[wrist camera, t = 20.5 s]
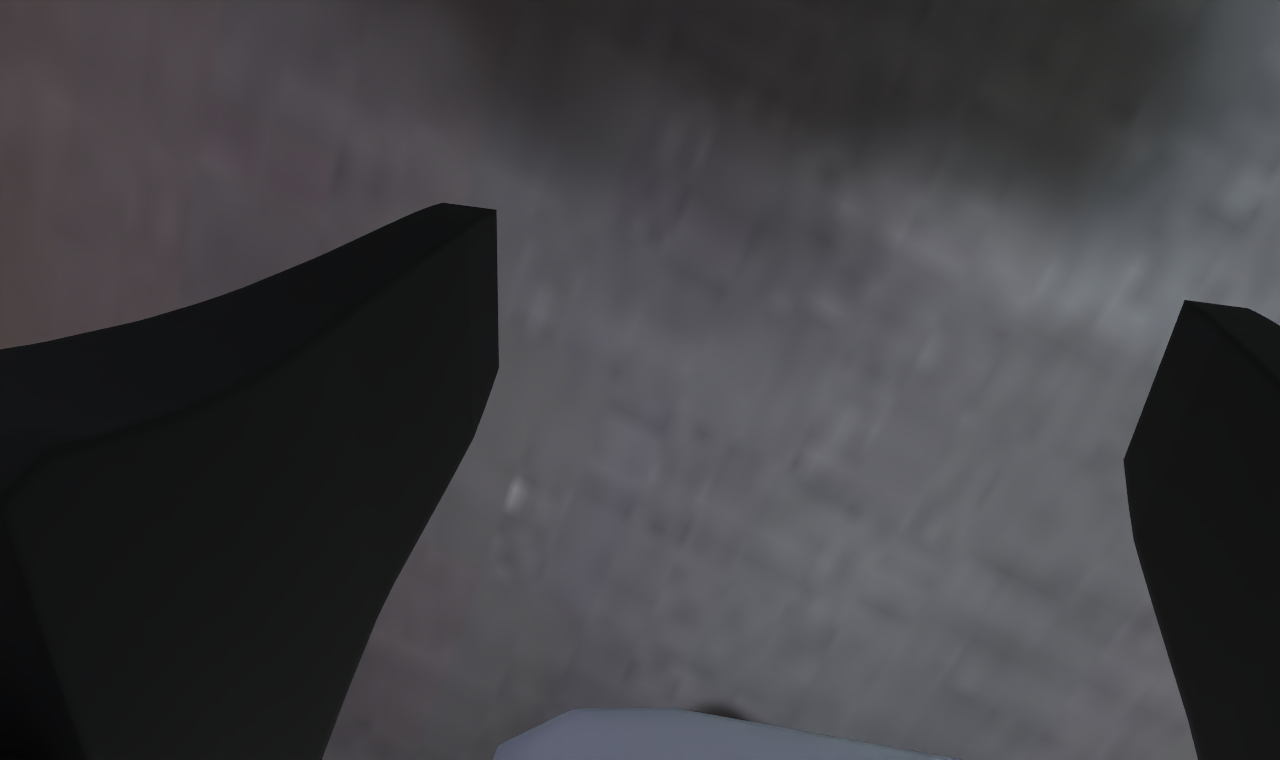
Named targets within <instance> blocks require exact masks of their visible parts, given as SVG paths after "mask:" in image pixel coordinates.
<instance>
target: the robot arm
mask: <svg viewBox="0 0 1280 760" xmlns="http://www.w3.org/2000/svg"><path fill="white" fill-rule="evenodd" d="M498 369H499V349H498V284H497V219H496V210H493V209H486V208H478V207H471V206H463V205H455V204H448V203H440V204H437V205H434V206H430V207H428V208H425V209H422V210H420V211H417V212H415V213H413V214H410V215H408V216H406V217H403V218H401V219H399V220H397V221H395V222H392V223H390V224H388V225H386V226H384V227H382V228H380V229H377V230H375V231H373V232H371V233H369V234H367V235H365V236H362V237H360V238H358V239H356V240H354V241H352V242H349V243H347V244H345V245H343V246H341V247H339V248H336V249H334V250H332V251H330V252H328V253H326V254H323V255H321V256H319V257H317V258H314V259H312V260H310V261H307V262H305V263H302V264H300V265H297V266H295V267H293V268H290V269H288V270H285V271H283V272H280V273H278V274H275V275H273V276H271V277H268V278H266V279H263V280H261V281H258V282H256V283H253V284H251V285H249V286H246V287H244V288H241V289H238V290H236V291H233V292H230V293H227V294H225V295H222V296H219V297H216V298H213V299H210V300H207V301H204V302H201V303H198V304H195V305H191V306H188V307H185V308H181V309H178V310H175V311H171V312H168V313H165V314H161V315H158V316H155V317H151V318H147V319H144V320H140V321H136V322H132V323H128V324H123V325H119V326H114V327H110V328H105V329H101V330H96V331H92V332H87V333H83V334H79V335H74V336H70V337H65V338H61V339H56V340H52V341H47V342H42V343H37V344H31V345H25V346H19V347H13V348H7V349H1V350H0V760H321V759H322V757H323V754H324V752H325V749H326V746H327V744H328V741H329V738H330V736H331V733H332V730H333V728H334V725H335V723H336V720H337V717H338V715H339V712H340V709H341V707H342V704H343V701H344V699H345V696H346V694H347V691H348V689H349V686H350V684H351V681H352V679H353V676H354V674H355V671H356V669H357V666H358V664H359V661H360V659H361V656H362V654H363V652H364V649H365V647H366V644H367V642H368V639H369V637H370V634H371V632H372V629H373V627H374V624H375V622H376V620H377V617H378V615H379V613H380V611H381V609H382V607H383V605H384V603H385V601H386V599H387V597H388V595H389V593H390V591H391V589H392V586H393V584H394V583H395V581H396V579H397V577H398V575H399V573H400V572H401V570H402V568H403V566H404V564H405V563H406V561H407V559H408V557H409V555H410V554H411V552H412V550H413V548H414V546H415V544H416V543H417V541H418V539H419V537H420V535H421V534H422V532H423V530H424V528H425V526H426V525H427V523H428V521H429V519H430V517H431V515H432V514H433V512H434V510H435V508H436V506H437V505H438V503H439V501H440V499H441V497H442V496H443V494H444V492H445V490H446V488H447V486H448V485H449V483H450V481H451V479H452V477H453V475H454V473H455V472H456V470H457V468H458V466H459V464H460V462H461V461H462V459H463V457H464V455H465V453H466V451H467V449H468V447H469V445H470V443H471V442H472V440H473V438H474V435H475V433H476V430H477V427H478V425H479V422H480V419H481V417H482V414H483V412H484V409H485V406H486V403H487V400H488V398H489V395H490V392H491V389H492V386H493V383H494V380H495V377H496V375H497V372H498ZM1124 468H1125V477H1126V486H1127V495H1128V504H1129V511H1130V518H1131V524H1132V531H1133V538H1134V542H1135V546H1136V550H1137V553H1138V557H1139V560H1140V564H1141V567H1142V570H1143V574H1144V577H1145V581H1146V584H1147V587H1148V591H1149V594H1150V597H1151V601H1152V604H1153V607H1154V611H1155V614H1156V617H1157V620H1158V624H1159V627H1160V630H1161V633H1162V637H1163V640H1164V643H1165V646H1166V650H1167V653H1168V656H1169V659H1170V663H1171V666H1172V669H1173V672H1174V676H1175V679H1176V682H1177V685H1178V689H1179V692H1180V695H1181V698H1182V702H1183V705H1184V708H1185V711H1186V715H1187V718H1188V721H1189V725H1190V729H1191V733H1192V737H1193V741H1194V745H1195V749H1196V753H1197V757H1198V760H1280V326H1279V325H1278V324H1276V323H1274V322H1273V321H1271V320H1269V319H1268V318H1266V317H1264V316H1262V315H1260V314H1258V313H1256V312H1254V311H1252V310H1250V309H1248V308H1241V307H1233V306H1226V305H1218V304H1210V303H1203V302H1195V301H1188V300H1185V301H1184V303H1183V306H1182V309H1181V311H1180V314H1179V316H1178V319H1177V322H1176V324H1175V327H1174V329H1173V332H1172V335H1171V337H1170V340H1169V343H1168V345H1167V348H1166V350H1165V353H1164V356H1163V358H1162V361H1161V364H1160V366H1159V369H1158V371H1157V374H1156V377H1155V379H1154V382H1153V384H1152V387H1151V390H1150V392H1149V395H1148V398H1147V400H1146V403H1145V405H1144V408H1143V411H1142V413H1141V416H1140V419H1139V421H1138V424H1137V426H1136V429H1135V432H1134V434H1133V437H1132V439H1131V442H1130V445H1129V447H1128V450H1127V453H1126V455H1125V458H1124ZM492 760H961V759H956V758H950V757H945V756H939V755H933V754H928V753H922V752H917V751H911V750H906V749H900V748H894V747H889V746H883V745H878V744H872V743H867V742H861V741H855V740H850V739H844V738H839V737H833V736H828V735H822V734H816V733H811V732H805V731H800V730H794V729H789V728H783V727H778V726H772V725H766V724H761V723H755V722H750V721H744V720H739V719H733V718H727V717H722V716H716V715H711V714H705V713H700V712H694V711H688V710H683V709H677V708H580V709H575V710H570V711H568V712H565V713H563V714H561V715H559V716H557V717H555V718H553V719H551V720H549V721H547V722H545V723H543V724H541V725H539V726H537V727H535V728H532V729H530V730H528V731H526V732H524V733H522V734H520V735H518V736H516V737H514V738H512V739H510V740H508V741H506V742H504V743H502V744H500V745H498V747H497V750H496V752H495V754H494V757H493V759H492Z"/></svg>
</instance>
